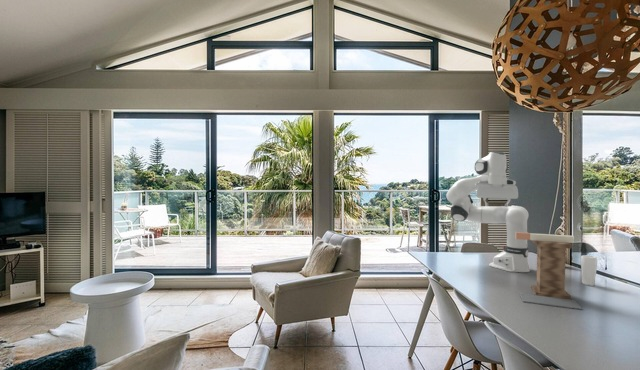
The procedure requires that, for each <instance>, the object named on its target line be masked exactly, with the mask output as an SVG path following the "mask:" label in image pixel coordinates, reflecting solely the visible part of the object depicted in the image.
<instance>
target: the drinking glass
mask: <svg viewBox="0 0 640 370" xmlns="http://www.w3.org/2000/svg"><path fill="white" fill-rule="evenodd" d="M597 267H598V257H596V256H594V255H593V256H592V255H588V254H586V255H585V254H583V255H581V256H580V268H581V271H580V272H581V283H582V284H583V285H585V286H590V287H591V286H592V287H593V286H595V285H596V278H597V277H596V276H597V271H598V270H597V269H598V268H597Z"/></svg>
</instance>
